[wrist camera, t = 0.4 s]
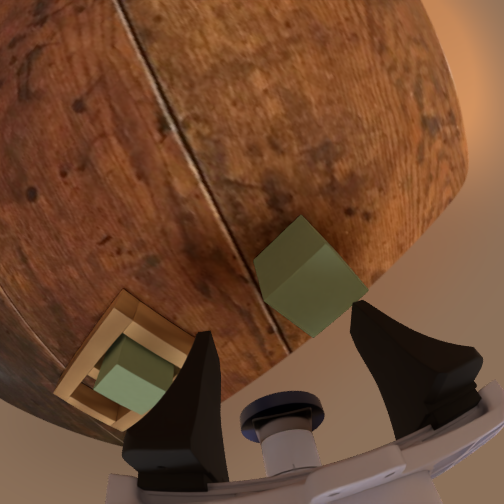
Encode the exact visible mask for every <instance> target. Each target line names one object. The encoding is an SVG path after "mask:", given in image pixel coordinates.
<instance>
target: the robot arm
mask: <svg viewBox="0 0 504 504" xmlns="http://www.w3.org/2000/svg"><path fill="white" fill-rule="evenodd" d="M350 334H351V336H352V339H353V341H354V343H355V346H356V348H357V350H358V352H359V353H360V355H361V357H362V359H363V360H364V362H365V364H366V365H367V367H368V369H369V371H370V372H371V374H372V376H373V378H374V379H375V381H376V383H377V385H378V388H379V390H380V392H381V395H382V398H383V400H384V403H385V405H386V408H387V411H388V414H389V417H390V421H391V424H392V427H393V430H394V435H395V438H396V441H394V442H391V443H389V444H386V445H384V446H381V447H379V448H376V449H373V450H371V451H368V452H365V453H362V454H360V455H356V456H353V457H350V458H347V459H344V460H341V461H337V462H334V463H330V464H327V465H323V466H322V464H321V461H320V457H319V454H318V451H317V448H316V444H315V441H314V437H313V434H312V410H311V407H306V408H302V409H298V410H293V411H289V412H284V413H280V414H275V415H270V416H264V417H259V418H254V419H253V420H252V423H253V426H254V428H255V431H256V434H257V437H258V439H259V442H260V445H261V447H262V454H263V460H264V465H265V471H266V478H259V479H252V480H244V481H234V482H229V477H228V471H227V466H226V459H225V452H224V445H223V438H222V429H221V417H220V404H221V372H220V362H219V357H218V354H217V350H216V347H215V344H214V341H213V337H212V334H211V331H204V332H198V333H197V335H196V337H195V340H194V343H193V345H192V347H191V350H190V352H189V354H188V356H187V358H186V360H185V362H184V364H183V366H182V368H181V369H180V371H179V373H178V375H177V376H176V378H175V380H174V381H173V383H172V384H171V386H170V387H169V388H168V390H167V391H166V392H165V394H164V395H163V396H162V397H161V399H160V400H159V401H158V402H157V403H156V405H155V406H154V407H153V408H152V409H151V410H150V411H149V412H148V413H147V414H146V415H145V416H144V417H142V418H141V419H140V420H139V421H138V422H136V423H135V424H134V425H133V426H131V427H130V428H129V429H127V432H126V435H125V438H124V443H123V450H122V457H123V459H124V460H125V461H126V462H127V463H128V464H129V465H130V466H132V467H133V468H134V469H135V470H136V471H138V478H136V477H133V476H128V475H119V474H109V478H108V485H107V493H106V501H105V504H443V503H442V501H441V498H440V496H439V494H438V492H437V489H436V487H435V485H434V483H433V481H432V479H434V478H435V477H437V476H439V475H440V474H442V473H444V472H445V471H447V470H448V469H450V468H451V467H453V466H454V465H456V464H457V463H459V462H460V461H461V460H463V459H464V458H466V457H467V456H468V455H470V454H471V453H473V452H474V451H476V450H477V449H478V448H479V447H481V446H482V445H484V444H485V443H486V442H487V441H489V440H490V439H491V438H492V437H494V436H495V435H496V434H497V433H498V432H499V431H500V430H501V429H502V428H503V427H504V390H503V389H502V387H501V386H500V385H499V383H498V382H497V381H496V380H493V381H492V382H490V383H489V384H487V385H486V386H484V387H483V388H482V389H481V390H479V392H477V391H476V389H475V388H476V387H477V385H476V383H475V382H474V380H475V378H476V376H477V374H478V373H479V371H480V369H481V367H482V364H483V357H482V356H481V355H480V354H479V353H478V352H477V351H476V349H475V348H474V347H469V346H461V345H456V344H452V343H447V342H443V341H440V340H437V339H434V338H431V337H428V336H426V335H423V334H421V333H419V332H416V331H414V330H412V329H409V328H408V327H406V326H404V325H403V324H401V323H399V322H397V321H396V320H394V319H392V318H390V317H389V316H387V315H386V314H384V313H383V312H381V311H380V310H378V309H377V308H375V307H373V306H372V305H370V304H369V303H367V302H366V301H364V300H361V301H357V302H353V303H352V315H351V326H350Z"/></svg>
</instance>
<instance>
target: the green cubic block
mask: <svg viewBox="0 0 504 504" xmlns="http://www.w3.org/2000/svg"><path fill="white" fill-rule="evenodd" d="M173 373H174V364H172V363H170V362H169V361H167V360H165V359H164V358H162V357H160V356H159V355H157V354H155V353H154V352H152V351H150V350H149V349H147V348H145V347H144V346H142V345H141V344H139V343H137V342H136V341H134V340H133V339H131V338H130V337H128V336H127V335H125V334H124V333H123V332H122V333H121V334H120V336H119V337H118V338H117V339H116V340H115V341H114V343H113V344H112V345H111V346H110V347H109V349H108V350H107V351H106V354H105V357H104V359H103V362H102V365H101V368H100V371H99V374H98V377H97V380H96V382H95V386H94V390H95V391H97V392H98V393H100V394H102V395H104V396H105V397H107V398H109V399H111V400H113V401H115V402H116V403H118V404H120V405H122V406H124V407H126V408H128V409H130V410H132V411H134V412H136V413H138V414H140V415H143V414H144V413H146V412H147V411H149V410H150V409H151V408H153V407H154V406H155V405H156V403H157V402H158V401H159V400H160V399H161V397H162V396H163V395H164V394H165V392H166V391H167V390H168V388H169V387H170V386H171V384H172V382H173Z"/></svg>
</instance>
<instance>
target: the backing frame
mask: <svg viewBox="0 0 504 504" xmlns="http://www.w3.org/2000/svg"><path fill="white" fill-rule="evenodd" d="M122 332H123V333H124V334H125V335H127V336H128V337H130V338H131V339H133V340H134V341H136V342H137V343H139V344H141V345H142V346H144V347H145V348H147V349H149V350H150V351H152V352H154V353H155V354H157V355H159V356H160V357H162V358H164V359H165V360H167V361H169V362H170V363H172V364H174V373H173V381H174V380H175V378H176V376H177V375H178V373H179V371H180V369H181V368H182V366H183V364H184V362H185V360H186V358H187V356H188V354H189V352H190V350H191V347H192V345H193V343H194V340H195V338H194V337H192V336H191V335H189V334H188V333H186V332H185V331H183V330H181V329H180V328H178V327H177V326H175V325H174V324H172V323H171V322H169V321H168V320H166V319H165V318H163V317H162V316H160V315H159V314H157V313H156V312H155V311H153V310H152V309H150V308H149V307H147V306H146V305H145V304H143V303H142V302H139V300H138V299H136V298H135V297H134V296H132V295H131V294H130V293H128V292H127V291H125V290H124V289H122V290H121V292H120V293H119V294H118V296H117V297H116V298H115V300H114V301H113V302H112V304H111V305H110V306H109V308H108V309H107V310H106V312H105V313H104V314H103V316H102V317H101V318H100V320H99V321H98V322H97V324H96V325H95V327H94V328H93V329H92V331H91V332H90V334H89V335H88V336H87V338H86V339H85V341H84V342H83V344H82V345H81V346H80V348H79V349H78V351H77V352H76V354H75V355H74V357H73V358H72V360H71V361H70V363H69V364H68V366H67V367H66V369H65V370H64V372H63V373H62V375H61V377H60V379H59V381H58V383H57V386H56V388H55V390H54V394H55V395H57V396H58V397H60V398H61V399H63V400H65V401H66V402H68V403H70V404H71V405H73V406H75V407H76V408H78V409H80V410H82V411H83V412H85V413H87V414H89V415H91V416H92V417H94V418H96V419H98V420H100V421H102V422H104V423H106V424H108V425H111V426H112V427H114V428H116V429H118V430H120V431H122V432H123V431H124V430H126V429H127V428H129V427H130V426H132V425H133V424H135V423H136V422H138V421H139V420H140V419H141V418H142V417H144V416H145V415H146V414H147V413H148V412H149V411H150V410H151V409H152V408H151V409H150V410H149V411H147V412H146V413H144V414H143V415H140V414H138V413H136V412H134V411H132V410H130V409H128V408H126V407H124V406H122V405H119V404H117V403H115V402H114V401H112V400H110V399H108V398H106V397H105V396H103V395H101V394H99V393H98V392H96V391H94V390H92V389H91V388H89V387H87V386H86V385H84V384H83V383H81V381H82V380H83V379H84V378H85V376H86V375H87V374H88V375H89V376H91V377H92V378H94V379H96V380H97V377H98V374H99V371H100V368H101V365H102V362H103V359H104V357H105V354H106V351H107V350H108V349H109V347H110V346H111V345H112V344H113V343H114V341H115V340H116V339H117V338H118V337H119V336H120V334H121V333H122ZM172 383H173V382H172Z"/></svg>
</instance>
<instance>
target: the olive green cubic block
mask: <svg viewBox="0 0 504 504" xmlns="http://www.w3.org/2000/svg"><path fill="white" fill-rule="evenodd" d="M253 262H254V266H255V270H256V273H257V277H258V281H259V285H260V288H261V292H262V296H263V300H264V301H265V302H266V303H267V304H268V305H270V306H271V307H272V308H274V309H275V310H276V311H278V312H279V313H280V314H282V315H283V316H284V317H286V318H287V319H288V320H290V321H291V322H292V323H294V324H295V325H296V326H298V327H299V328H300V329H302V330H303V331H304V332H306V333H307V334H308V335H310V336H311V337H313V338H314V337H315V336H316V335H318V334H319V333H320V332H322V331H323V330H324V329H325V328H326V327H327V326H329V325H330V324H331V323H332V322H334V321H335V320H336V319H337V318H338V317H340V316H341V315H342V314H343V313H344V312H345V311H346V310H348V309H349V308H350V307H351V306H352V303H353V302H357V301H358V300H359V299H360V298H361V297H362V296H363V295H365V294H366V293H367V292H368V288H367V287H366V286H365V285H364V283H363V282H362V281H361V280H360V279H359V277H358V276H357V275H356V274H355V273H354V271H353V270H352V269H351V268H350V267H349V266H348V264H347V263H346V262H345V261H344V260H343V259H342V257H341V256H340V255H339V254H338V253H337V252H336V251H335V250H334V248H333V247H332V246H331V245H330V244H329V243H328V242H327V241H326V240H325V239H324V238H323V237H322V236H321V235H320V234H319V232H318V231H317V230H316V229H315V228H314V227H313V226H312V225H311V224H310V223H309V222H308V221H307V220H306V219H305V218H304V217H303V216H302V215H300V216H299V217H298V218H297V219H296V220H295V221H294V222H293V223H292V224H290V225H289V226H288V227H287V228H286V229H285V230H284V231H283V232H282V233H281V234H280V235H279V236H278V237H277V238H276V239H275V240H274V241H273V242H272V243H271V244H270V245H269V246H268V247H267V248H266V249H264V250H263V251H262V252H261V253H260V254H259V255H258V256H257V257H256V258H255V259H254V260H253Z"/></svg>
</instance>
